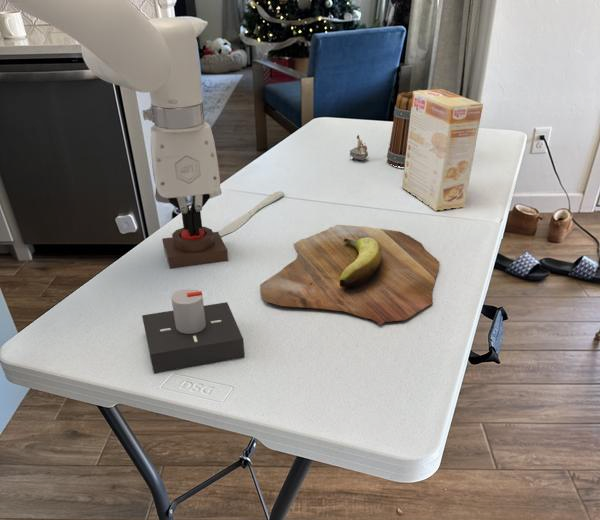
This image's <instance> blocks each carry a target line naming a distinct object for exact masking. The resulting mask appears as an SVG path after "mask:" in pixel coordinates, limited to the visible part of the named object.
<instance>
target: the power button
mask: <svg viewBox="0 0 600 520" xmlns="http://www.w3.org/2000/svg"><path fill="white" fill-rule="evenodd" d="M204 236H205V232H204V231H203V230H202V229H199V235H195V233H194V235H193V236H190V235H189V232H188V230H184V231H182V232H181V238H183V239H189V240H193V239H199V238H202V237H204Z"/></svg>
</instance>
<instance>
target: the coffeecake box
mask: <svg viewBox="0 0 600 520" xmlns="http://www.w3.org/2000/svg"><path fill="white" fill-rule="evenodd" d="M419 90H420V91H417V90H413V91H412V92H413V96H412V106H411V114H410V123H409V132H408V141H407V150H406V159H405V167H404V169H403V175H402V176H403V177H402V186H401V188H402V189H403V188H404V189H405V190H404V189H403V190H404V191H406V190H407V191H406V192H407V193H409V192H410V193H411V194H410V193H409V194H410V195H411V196H413V195H414V196H413V197H415V196H416V197H417V198H416V197H415V198H416V199H418V200H420V201H421V202H422V201H423V202H422V203H423V204H425V205H426V206H428V205H429V206H428V207H429V208H431V209H433V210H436V211H435V212H438V211H437V210H440V211H445V210H444V209H447V210H452V209H451V208H456V209H460V208H459V207H463V208H465V206H466V200H467V194H468V189H469V183H470V178H471V173H472V168H473V161H474V157H475V151H476V145H477V140H478V134H479V129H480V123H481V118H482V113H483V107H484V104H483V103H481V102H479V101H476V100H473V99H470V98H467V97H465V96H462V95H459V94H457V93H454V92H451V91H448V90H446V89H442V88H436V89H435V88H433V89H431V88H430V89H419Z"/></svg>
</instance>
